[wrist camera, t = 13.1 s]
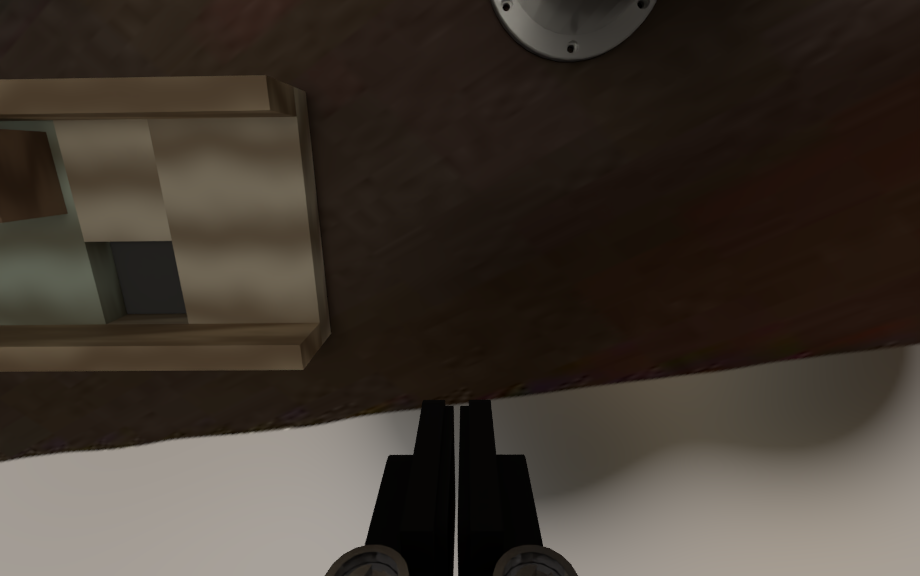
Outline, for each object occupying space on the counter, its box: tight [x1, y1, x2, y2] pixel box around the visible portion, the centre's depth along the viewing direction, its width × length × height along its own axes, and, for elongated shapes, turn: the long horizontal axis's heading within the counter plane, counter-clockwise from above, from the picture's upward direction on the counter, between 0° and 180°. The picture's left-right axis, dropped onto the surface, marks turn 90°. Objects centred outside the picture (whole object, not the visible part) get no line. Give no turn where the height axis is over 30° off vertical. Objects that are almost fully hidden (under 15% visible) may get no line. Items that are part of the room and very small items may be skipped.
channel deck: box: [0, 75, 331, 372], centre depth 33 cm, size 20×28×7 cm
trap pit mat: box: [110, 241, 186, 314], centre depth 38 cm, size 7×7×1 cm
